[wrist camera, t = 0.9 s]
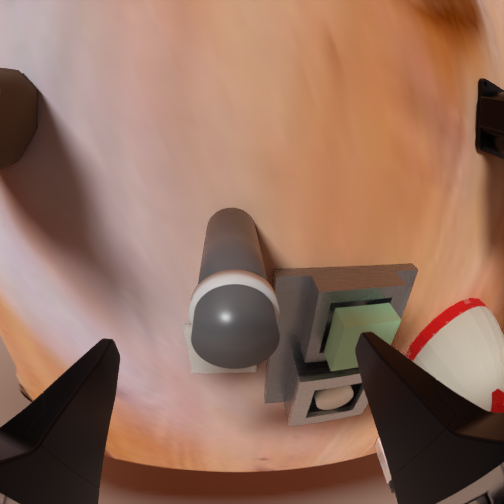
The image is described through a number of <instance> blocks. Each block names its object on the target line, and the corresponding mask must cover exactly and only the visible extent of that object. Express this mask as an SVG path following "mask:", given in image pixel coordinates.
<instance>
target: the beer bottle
mask: <svg viewBox="0 0 504 504" xmlns="http://www.w3.org/2000/svg"><path fill="white" fill-rule="evenodd" d="M37 92H38V91H37V90H36V89H35V87H34V86H33V85H32V84H31V83H30V82H29V81H28V80H27V79H26V78H25V77H24V76H23V74H22V73H21V72H20V71H19V70H13V69H6V68H0V169H2V168H5V167H7V166H9V165H11V164H13V163H15V162H17V161H19V159H20V158H21V156H22V154H23V152H24V150H25V148H26V146H27V145H28V143H29V141H30V139H31V137H32V136H33V134H34V132H35V130H36V129H37Z"/></svg>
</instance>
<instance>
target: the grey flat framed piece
mask: <svg viewBox="0 0 504 504" xmlns="http://www.w3.org/2000/svg"><path fill="white" fill-rule="evenodd" d="M417 272H418V269H417V268H416V267H415V266H414V265H413V264H395V265H374V266H351V267H326V268H298V269H274V278H273V290H274V292H275V294H276V298H277V302H278V306H279V311H280V314H279V321H278V323H277V324H278V329H279V334H280V340H279V344H278V347H277V349H276V350H275V352H274V353H273V354H272V355H271V356H270V357H269V358H268V359H267V369H266V381H265V392H264V399H265V403H277V402H284V405H285V411H286V416H287V421H288V427H289V426H298V425H305V424H312V423H319V422H325V421H330V420H336V419H341V418H346V417H351V416H355V415H360V414H362V413H363V411H364V409H365V408H366V406H367V404H368V400H367V397H366V394H365V391H364V388H363V385H362V380H361V376H360V371H359V367H356V368H350V369H344V370H338V371H330V368H329V365H328V362H327V359H326V357H325V354H324V350H325V346H326V343H327V339H328V335H329V331H330V327H331V323H332V319H333V315H334V310H335V308H342V307H353V306H363V305H373V304H382V303H390V304H391V306H392V307H393V309H394V310H395V311H396V313H397V314H398V316H399V317H400V319H401V317H402V314H403V312H404V309H405V306H406V304H407V301H408V298H409V295H410V293H411V290H412V287H413V284H414V281H415V278H416V275H417ZM347 385H351V388H352V390H353V397H352V398H351V400H350V401H349V402H347V403H346V404H344V405H342V406H340V407H338V408H335V409H330V410H323V409H319V408H318V407H317V405H316V401H315V398H314V391H315V390H322V389H329V388H335V387H341V386H347Z"/></svg>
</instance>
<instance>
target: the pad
mask: <svg viewBox="0 0 504 504" xmlns="http://www.w3.org/2000/svg"><path fill="white" fill-rule="evenodd" d="M184 333H185V338H186V344H187V349H188V354H189V359H190V364H191V369H192V373H246V372H256V371H257V365H254V366H251V367H247V368H241V369H228V368H222V367H218V366H215V365H212V364H210V363H208V362H206V361H205V360H203V359H202V358H201V357H200V356H199V355H198V354H197V353H196V352H195V350H194V348H193V346H192V343H191V333H192V325H191V324H184Z"/></svg>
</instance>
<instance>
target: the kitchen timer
mask: <svg viewBox="0 0 504 504" xmlns="http://www.w3.org/2000/svg"><path fill="white" fill-rule="evenodd" d="M405 356H406V357H407V358H409V359H410V360H411V361H413V362H414V363H415V364H417V365H418V366H420V367H421V368H422V369H424V370H425V371H426V372H428V373H429V374H430V375H432V376H433V377H435V378H436V379H437V380H439V381H440V382H441V383H443V384H444V385H446V386H447V387H448V388H450V389H451V390H453V391H454V392H456V393H457V394H459V395H461V396H462V397H464V398H466V399H467V400H469V401H471V402H472V403H474V404H476V405H477V406H479V407H481V408H482V409H484V410H487V411H489V412H495V413H501V412H504V405H503V404H504V333H502V331H501V329H500V326H499V324H498V322H497V320H496V318H495V316H494V315H493V313H492V312H491V311H490V309H489V308H488V307H487V306H486V305H485V304H484V303H483V302H482V301H481V300H479V299H475V298H469V299H466V300H463V301H460V302H458V303H456V304H455V305H453V306H451V307H449V308H448V309H446V310H445V311H444V312H442V313H441V314H440V315H439V316H437V317H436V318H435V319H434V320H433V321H432V322H431V323H430V324H429V325H428V326H427V327H426V328H425V329H424V330H423V331H422V332H421V333H420V334H419V335H418V337H417V338H416V339H415V341H414V342H413V343H412V344H411V346H410V347H409V349H408V351H407V353H406V355H405Z"/></svg>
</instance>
